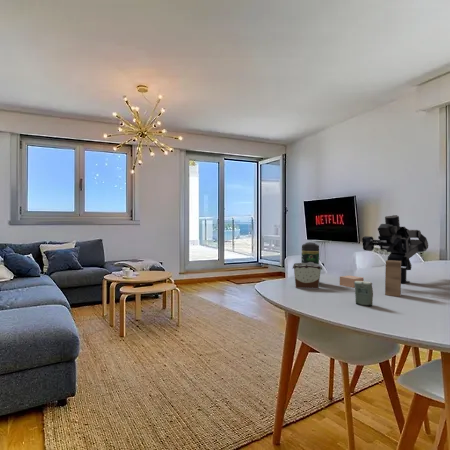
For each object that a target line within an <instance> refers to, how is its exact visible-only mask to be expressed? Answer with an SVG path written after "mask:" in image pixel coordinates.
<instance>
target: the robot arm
mask: <svg viewBox="0 0 450 450" xmlns="http://www.w3.org/2000/svg"><path fill="white" fill-rule="evenodd" d="M384 222H385V223H381V224H380V225H379V226H378V228H377V231H378V236H377V238H378V239H374V237H373V236H370V235H368V236H367V235H365V236H363V237H362V238H361V241H362V242H361V243H362V250H363V251H367V252H368V251H369V252H372V251H373V250H374V249H375V246H379V248H380V250H383V251H386V252H387V253H390V254H389V255H388V256H387V260H393V261H401V284H407V283H411V281H410V280H407V271H412V263H411V261H410V260H411V259H412V257H413V256H414V255H416V254H418V253H423V252H426V251H427V250H428V249H429V242H428V239H427V237H426V236H424V234H422V233H421V230H419V229H408V228H406V226H400V217H399V215H394V214H393V215H388V216H387V215H386V216H385V217H384ZM413 238H414V239H413ZM387 260H386V261H387Z"/></svg>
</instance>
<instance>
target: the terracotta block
mask: <svg viewBox="0 0 450 450" xmlns="http://www.w3.org/2000/svg"><path fill="white" fill-rule="evenodd" d="M355 281H364V277H361V276H355V275H342V276H339V285H340V286H343V287H347V288H353V289H355V284H354V282H355ZM364 282H365V281H364Z"/></svg>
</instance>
